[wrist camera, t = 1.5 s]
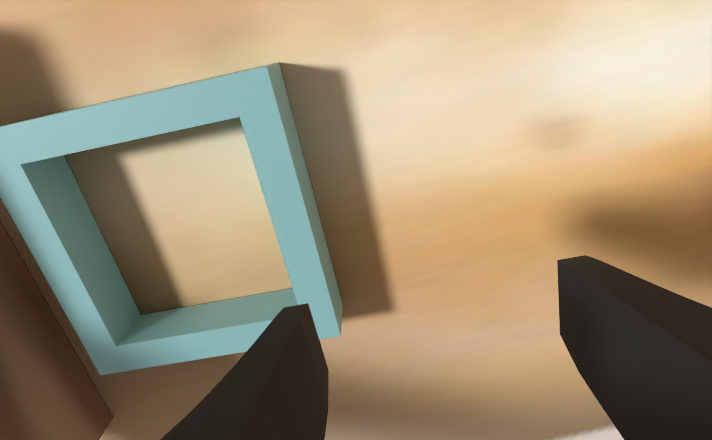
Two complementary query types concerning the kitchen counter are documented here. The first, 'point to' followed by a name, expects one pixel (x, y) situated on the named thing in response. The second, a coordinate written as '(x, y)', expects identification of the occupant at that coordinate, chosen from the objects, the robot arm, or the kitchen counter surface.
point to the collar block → (92, 256)
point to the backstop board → (40, 365)
